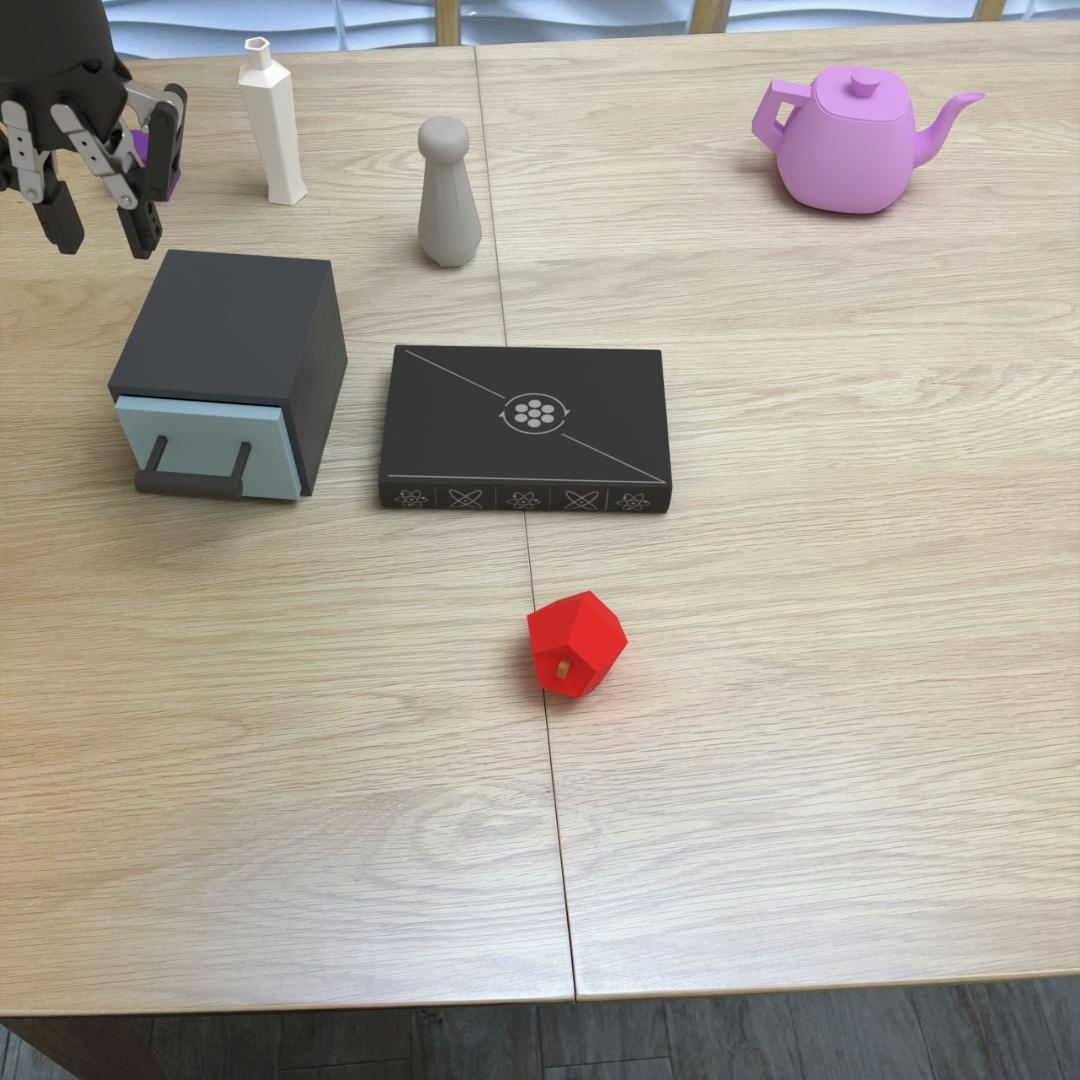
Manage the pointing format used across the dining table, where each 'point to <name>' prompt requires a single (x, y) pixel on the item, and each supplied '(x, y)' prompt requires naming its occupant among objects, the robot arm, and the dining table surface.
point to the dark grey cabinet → (242, 341)
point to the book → (526, 429)
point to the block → (141, 149)
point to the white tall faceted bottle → (272, 121)
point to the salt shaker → (447, 194)
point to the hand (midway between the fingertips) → (109, 246)
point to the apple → (574, 643)
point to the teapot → (850, 137)
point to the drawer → (209, 448)
